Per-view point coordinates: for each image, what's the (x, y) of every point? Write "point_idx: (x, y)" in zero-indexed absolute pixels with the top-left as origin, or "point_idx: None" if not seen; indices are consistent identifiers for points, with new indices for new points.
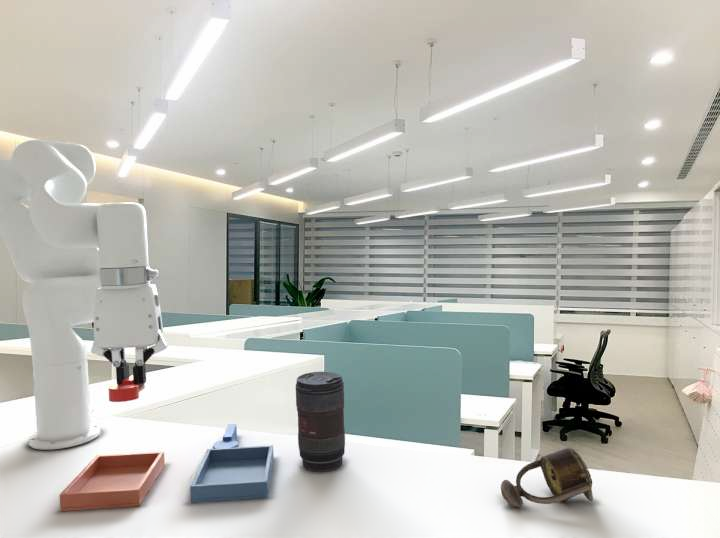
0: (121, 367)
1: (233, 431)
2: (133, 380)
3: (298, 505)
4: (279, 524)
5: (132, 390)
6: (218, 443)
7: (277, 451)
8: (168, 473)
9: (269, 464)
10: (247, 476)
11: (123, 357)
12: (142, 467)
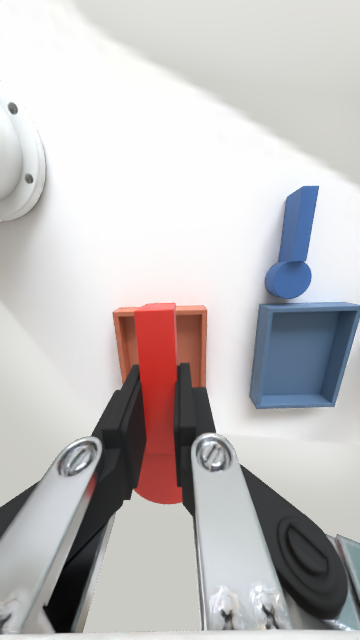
0: (128, 499)
1: (310, 232)
2: None
3: (345, 408)
4: (323, 433)
5: None
6: (281, 275)
7: (354, 273)
8: (213, 328)
9: (345, 367)
10: (307, 356)
11: (90, 493)
12: (179, 317)
